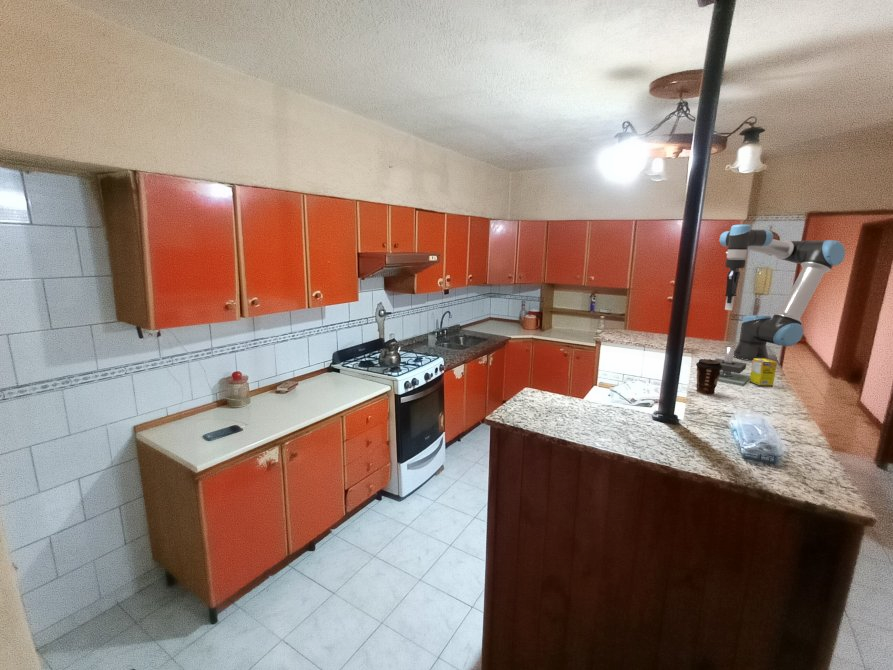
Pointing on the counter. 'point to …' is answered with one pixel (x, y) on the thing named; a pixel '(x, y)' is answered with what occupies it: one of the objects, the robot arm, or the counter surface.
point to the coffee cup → (707, 376)
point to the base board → (734, 379)
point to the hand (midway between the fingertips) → (728, 309)
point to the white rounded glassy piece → (728, 360)
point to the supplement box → (763, 372)
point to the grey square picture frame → (732, 366)
